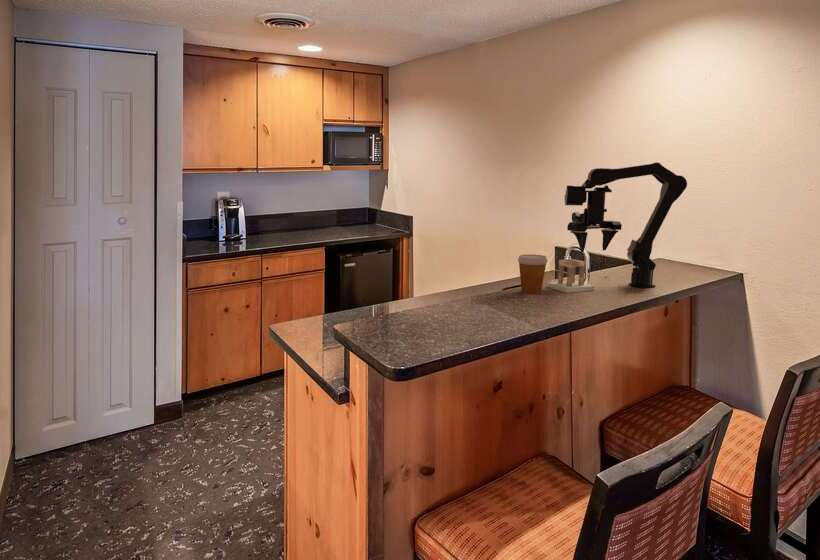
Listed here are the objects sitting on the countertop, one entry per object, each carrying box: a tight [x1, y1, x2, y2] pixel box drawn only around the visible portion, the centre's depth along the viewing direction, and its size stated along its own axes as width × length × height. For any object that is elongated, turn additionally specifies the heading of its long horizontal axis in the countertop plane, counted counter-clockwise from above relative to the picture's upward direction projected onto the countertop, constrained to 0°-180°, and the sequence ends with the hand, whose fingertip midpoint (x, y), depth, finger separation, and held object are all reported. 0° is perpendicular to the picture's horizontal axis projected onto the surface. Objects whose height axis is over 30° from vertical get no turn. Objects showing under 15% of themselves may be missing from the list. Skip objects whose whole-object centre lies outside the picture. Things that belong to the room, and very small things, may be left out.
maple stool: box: [557, 258, 586, 286], centre depth 191 cm, size 6×6×8 cm
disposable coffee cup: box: [517, 253, 548, 295], centre depth 185 cm, size 10×10×12 cm
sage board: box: [546, 280, 595, 294], centre depth 192 cm, size 11×11×2 cm
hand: (593, 250), depth 197 cm, fingers open, 9 cm apart
